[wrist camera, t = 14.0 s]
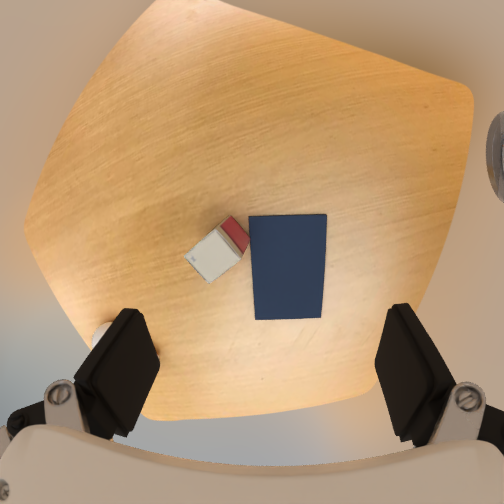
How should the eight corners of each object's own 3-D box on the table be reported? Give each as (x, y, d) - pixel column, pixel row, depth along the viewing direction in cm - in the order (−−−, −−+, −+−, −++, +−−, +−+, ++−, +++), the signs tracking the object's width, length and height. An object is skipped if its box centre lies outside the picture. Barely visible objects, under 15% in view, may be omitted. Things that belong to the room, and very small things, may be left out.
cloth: (326, 214, 35) (326, 214, 34) (320, 316, 41) (320, 317, 40) (248, 216, 35) (248, 217, 35) (255, 318, 42) (255, 319, 41)
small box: (224, 261, 38) (208, 286, 30) (203, 237, 37) (182, 256, 29) (252, 238, 36) (242, 259, 29) (230, 213, 35) (214, 228, 28)
